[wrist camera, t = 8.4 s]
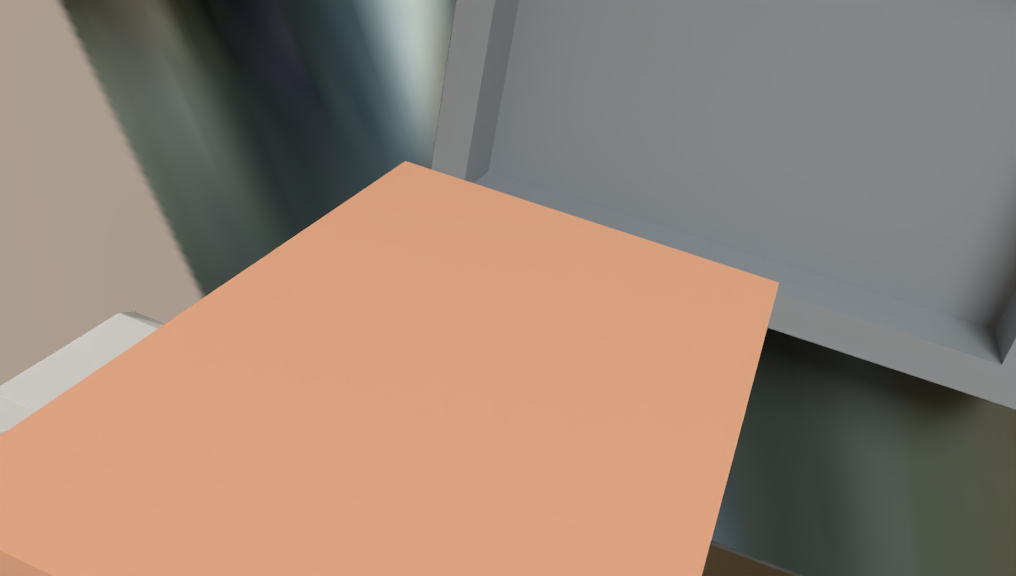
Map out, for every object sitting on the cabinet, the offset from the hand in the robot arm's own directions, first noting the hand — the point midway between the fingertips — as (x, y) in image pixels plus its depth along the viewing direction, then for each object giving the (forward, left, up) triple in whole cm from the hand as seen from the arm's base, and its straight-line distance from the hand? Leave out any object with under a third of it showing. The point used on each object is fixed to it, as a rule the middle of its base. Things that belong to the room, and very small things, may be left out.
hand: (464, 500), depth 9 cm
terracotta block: (0, 0, -2) cm, 2 cm away
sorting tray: (-1, +1, -19) cm, 19 cm away
